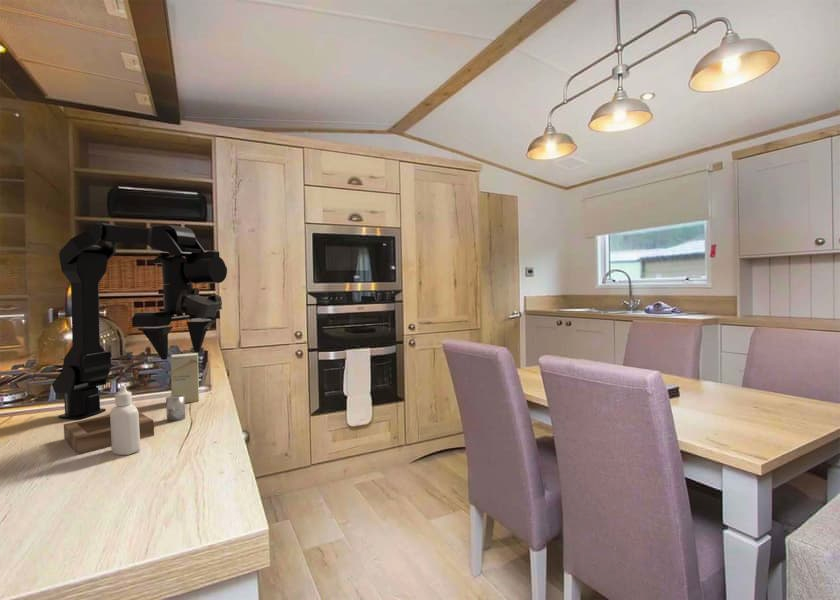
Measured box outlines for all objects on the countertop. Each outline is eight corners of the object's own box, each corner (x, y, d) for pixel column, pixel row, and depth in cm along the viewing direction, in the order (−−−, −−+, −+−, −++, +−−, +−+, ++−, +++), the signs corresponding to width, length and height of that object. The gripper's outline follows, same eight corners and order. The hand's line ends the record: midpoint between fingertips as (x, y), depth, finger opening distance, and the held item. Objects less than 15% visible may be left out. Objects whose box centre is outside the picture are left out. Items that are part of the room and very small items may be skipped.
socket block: (64, 439, 82) (63, 424, 82) (135, 422, 92) (134, 409, 91) (78, 454, 75) (77, 438, 75) (154, 435, 84) (153, 420, 84)
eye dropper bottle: (140, 443, 79) (137, 381, 79) (140, 453, 75) (137, 387, 74) (112, 448, 77) (109, 384, 77) (110, 459, 72) (106, 391, 72)
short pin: (162, 421, 92) (161, 399, 92) (175, 416, 96) (174, 394, 96) (176, 422, 91) (175, 399, 91) (189, 417, 95) (188, 395, 95)
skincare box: (171, 405, 105) (169, 357, 104) (172, 400, 109) (170, 354, 108) (199, 401, 108) (197, 354, 107) (199, 397, 112) (197, 352, 111)
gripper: (175, 283, 80) (179, 364, 80) (238, 283, 98) (241, 349, 98) (127, 285, 82) (131, 363, 83) (197, 284, 100) (200, 348, 101)
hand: (181, 355), depth 91 cm, fingers open, 9 cm apart
